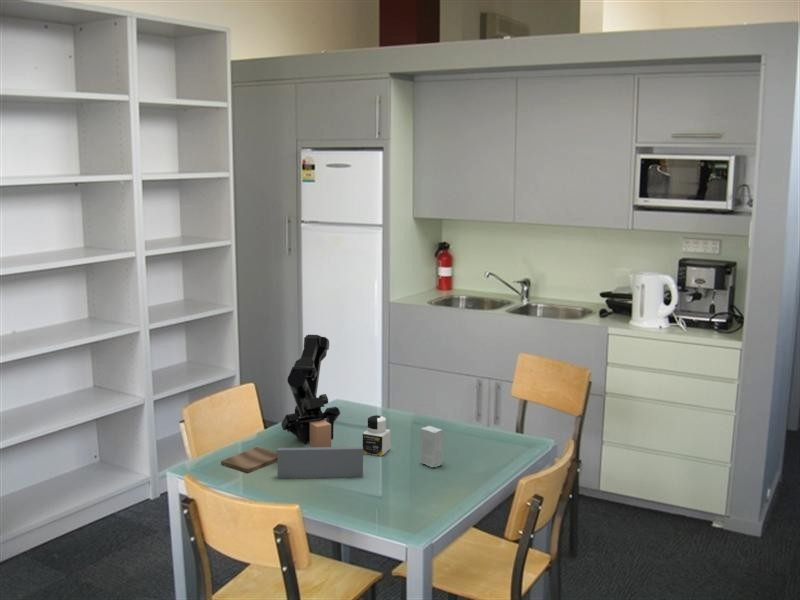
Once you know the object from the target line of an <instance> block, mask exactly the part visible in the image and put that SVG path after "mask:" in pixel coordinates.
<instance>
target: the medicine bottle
mask: <svg viewBox="0 0 800 600" xmlns="http://www.w3.org/2000/svg"><path fill="white" fill-rule="evenodd" d="M386 425H387V418H386V417H385V416H382V415H379V414H378V415H377V414H376V415H371V416H369V417H368V418H367V430H365V431H364V432H363V433H362V447H363V454H365V455H366V454H367V455H371V454H372V456H377V455H380V456H379V457H383V456H384V455H385V454H386V453H388V452H389V451H390V450H391V429H387V426H386ZM389 449H390V450H389ZM388 450H389V451H388ZM387 451H388V452H387ZM382 455H383V456H382Z"/></svg>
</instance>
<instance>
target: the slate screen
mask: <svg viewBox="0 0 800 600" xmlns="http://www.w3.org/2000/svg"><path fill="white" fill-rule="evenodd" d="M276 453H277V463H276V464H277V479H314V478H315V479H317V478H318V479H319V478H325V477H326V478H362V477H361V476H363V477H364V453H363V446H331V447H310V446H308V447H277V451H276Z"/></svg>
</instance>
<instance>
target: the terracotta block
mask: <svg viewBox="0 0 800 600" xmlns="http://www.w3.org/2000/svg"><path fill="white" fill-rule="evenodd" d="M309 447H332V440H331V424H330V423H328V422H326V421H325V420H321V421H315V422H310V442H309Z"/></svg>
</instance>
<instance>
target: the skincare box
mask: <svg viewBox="0 0 800 600" xmlns="http://www.w3.org/2000/svg"><path fill="white" fill-rule="evenodd" d="M443 434H444V431H443V429H441V428H438V427H435V426H431V425H427V426H424V427H421V428H420V458H419V460H420V461H419V462H422V463H426V464H428V465H431V466H436V465H437V464H439V463H442V464H443V442H444V440H443V438H444V437H443Z"/></svg>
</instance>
